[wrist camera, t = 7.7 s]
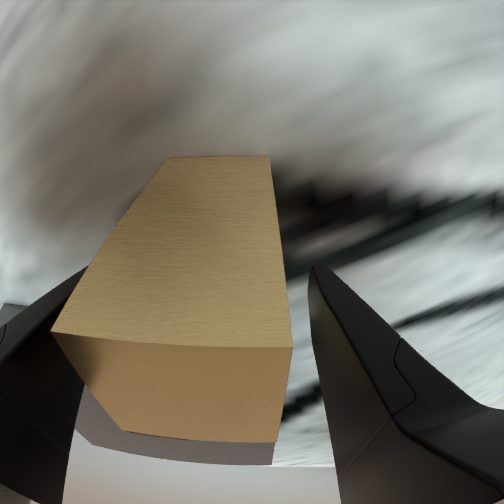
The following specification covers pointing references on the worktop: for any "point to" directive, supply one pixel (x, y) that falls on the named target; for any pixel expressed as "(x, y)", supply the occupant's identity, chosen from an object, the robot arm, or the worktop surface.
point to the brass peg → (188, 307)
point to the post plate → (112, 437)
